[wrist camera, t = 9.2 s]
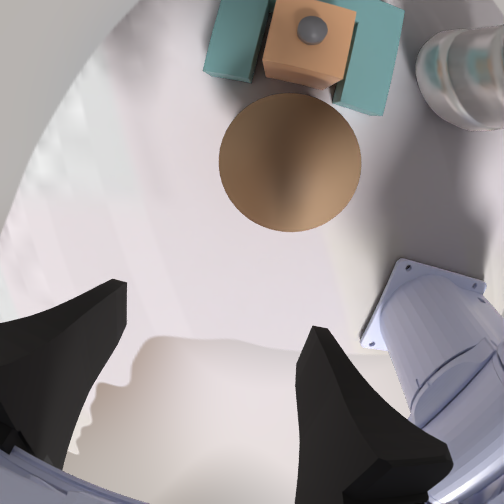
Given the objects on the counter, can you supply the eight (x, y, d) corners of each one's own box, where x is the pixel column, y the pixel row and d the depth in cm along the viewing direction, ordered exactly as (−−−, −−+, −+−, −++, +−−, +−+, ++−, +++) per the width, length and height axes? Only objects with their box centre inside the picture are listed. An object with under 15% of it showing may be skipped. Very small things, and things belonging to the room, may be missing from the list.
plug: (333, 40, 16) (360, 6, 10) (322, 90, 17) (346, 76, 11) (277, 26, 16) (278, -15, 10) (265, 76, 17) (261, 56, 11)
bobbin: (348, 116, 18) (376, 116, 13) (322, 211, 20) (338, 245, 15) (246, 90, 18) (235, 79, 12) (224, 188, 20) (207, 214, 15)
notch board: (390, 20, 15) (404, 10, 12) (369, 115, 18) (382, 115, 15) (236, -19, 14) (232, -35, 12) (211, 76, 17) (202, 70, 15)
